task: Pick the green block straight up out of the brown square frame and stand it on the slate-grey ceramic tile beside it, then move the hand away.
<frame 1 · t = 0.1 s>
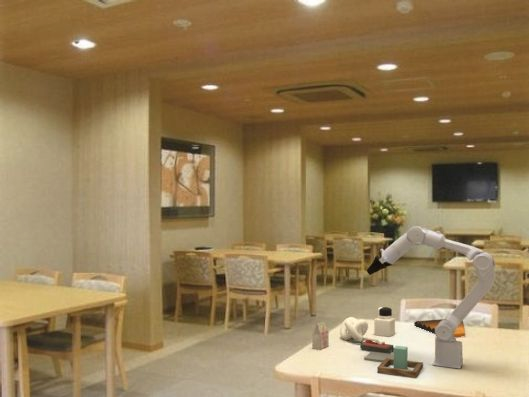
hand: (370, 271, 214), 32 cm above the table, tool tilted 50°, fingers open, 7 cm apart
ceramic tile: (380, 358, 209), on the table
cream rounded sculpture: (355, 340, 238), on the table
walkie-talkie: (370, 350, 223), on the table
brown square frame: (400, 370, 194), on the table
tea box: (320, 348, 224), on the table
medicine bottle: (384, 335, 248), on the table
green block: (400, 359, 194), in the brown square frame
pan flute: (452, 331, 257), on the table
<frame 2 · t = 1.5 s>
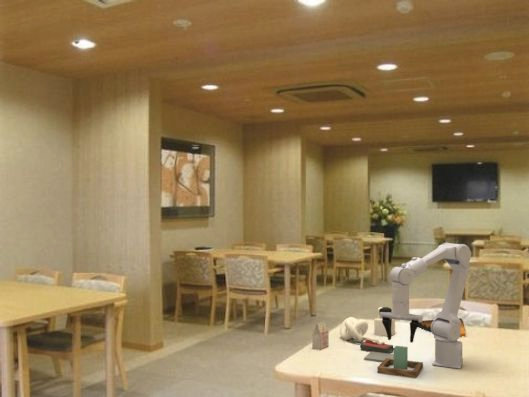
hand: (400, 340, 194), 10 cm above the table, tool pointing down, fingers open, 7 cm apart
nothing on the table moved.
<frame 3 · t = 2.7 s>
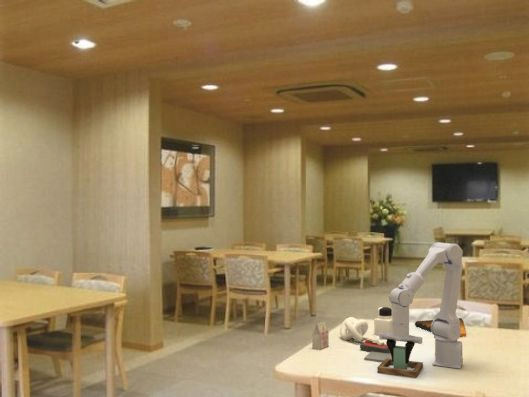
hand: (400, 362, 194), 3 cm above the table, tool pointing down, fingers closed on green block, 4 cm apart
green block: (400, 359, 194), in the brown square frame, touching gripper
everything else where it was.
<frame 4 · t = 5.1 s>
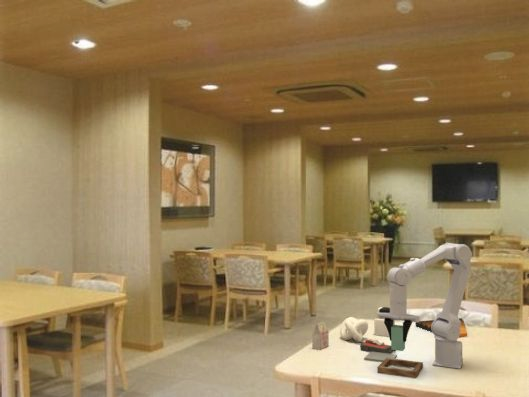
hand: (398, 340, 196), 10 cm above the table, tool pointing down, fingers closed on green block, 4 cm apart
green block: (398, 337, 196), point 11 cm above the table, touching gripper
everything else where it was.
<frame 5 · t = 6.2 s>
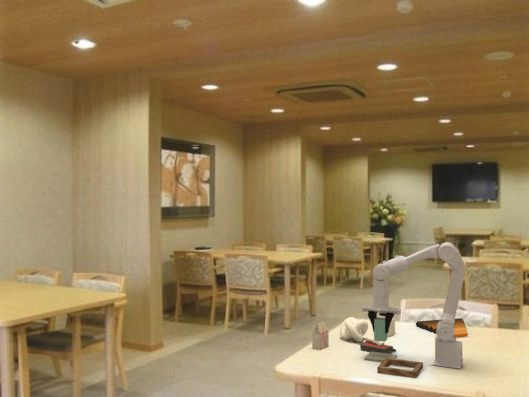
hand: (380, 332, 209), 10 cm above the table, tool pointing down, fingers closed on green block, 4 cm apart
green block: (380, 329, 209), point 11 cm above the table, touching gripper
everything else where it was.
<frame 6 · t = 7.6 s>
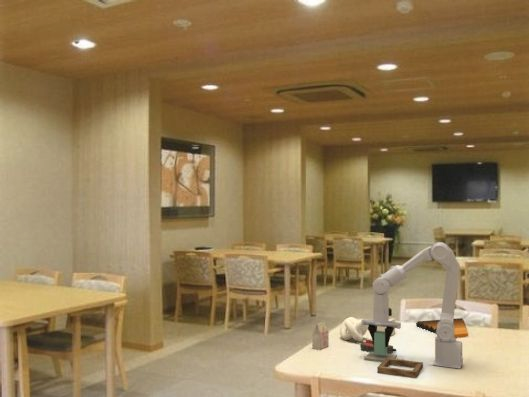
hand: (380, 345, 209), 5 cm above the table, tool pointing down, fingers closed on green block, 4 cm apart
green block: (380, 343, 209), point 6 cm above the table, touching gripper
everything else where it was.
when the fingers open (5 cm above the table, at t = 7.7 s): green block stays where it is, resting on ceramic tile.
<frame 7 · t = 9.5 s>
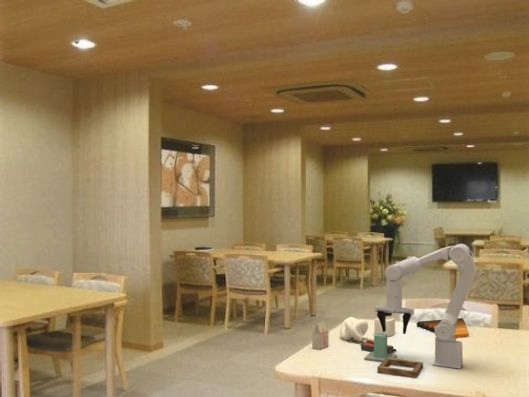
hand: (394, 332, 210), 10 cm above the table, tool pointing down, fingers open, 7 cm apart
green block: (380, 345, 209), on the ceramic tile, point 5 cm above the table
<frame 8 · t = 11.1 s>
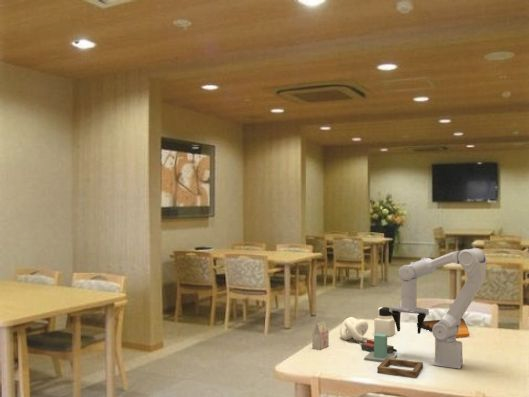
hand: (408, 332, 212), 9 cm above the table, tool pointing down, fingers open, 7 cm apart
at the end: green block 0.0 cm off-centre on the ceramic tile, point 4.8 cm above the ceramic tile's base; green block tilted 0°; the gripper is holding nothing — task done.
